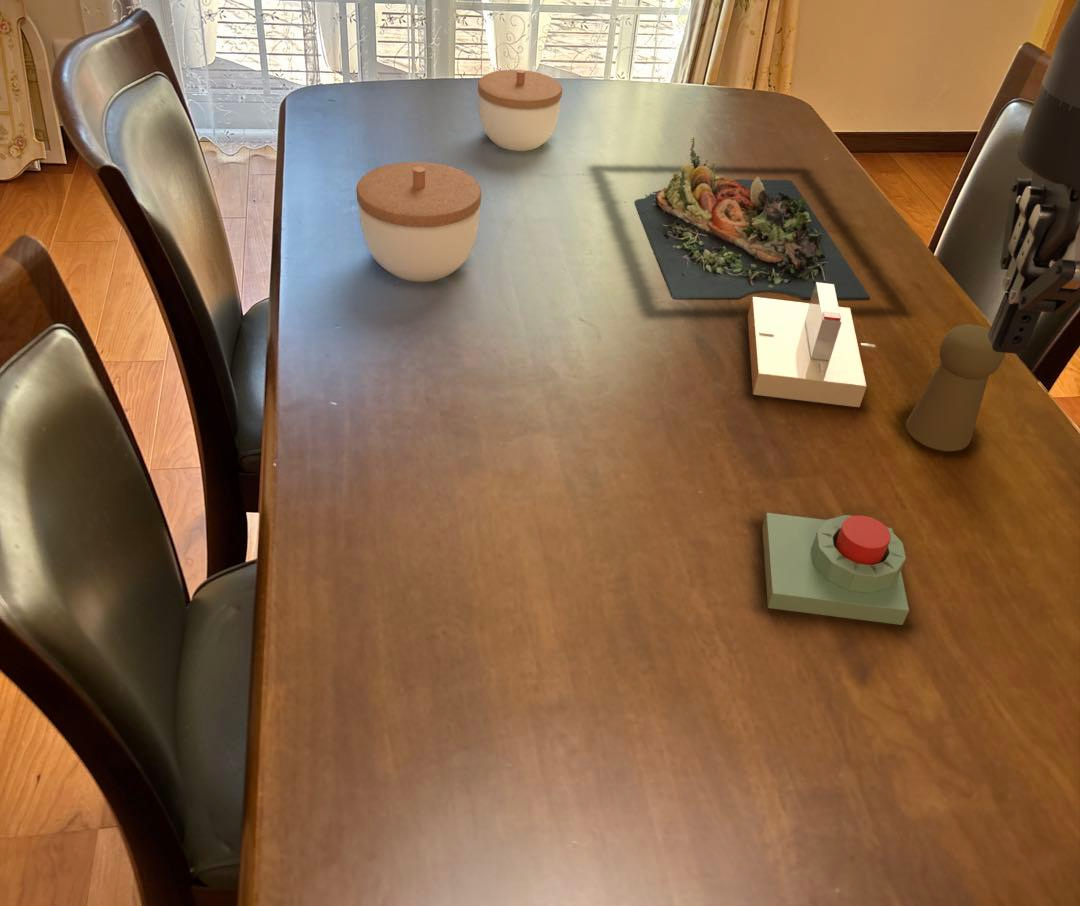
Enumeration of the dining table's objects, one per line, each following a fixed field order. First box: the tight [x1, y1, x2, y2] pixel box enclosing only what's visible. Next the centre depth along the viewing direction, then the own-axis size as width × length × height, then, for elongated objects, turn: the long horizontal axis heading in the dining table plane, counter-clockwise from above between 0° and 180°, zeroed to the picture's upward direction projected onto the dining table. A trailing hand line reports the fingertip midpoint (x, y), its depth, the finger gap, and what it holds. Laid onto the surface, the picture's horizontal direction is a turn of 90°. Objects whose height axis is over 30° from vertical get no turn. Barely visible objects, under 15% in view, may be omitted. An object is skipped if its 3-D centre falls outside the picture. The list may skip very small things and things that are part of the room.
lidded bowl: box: [356, 161, 482, 283], centre depth 106 cm, size 13×13×11 cm
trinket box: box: [477, 69, 563, 152], centre depth 132 cm, size 11×11×9 cm
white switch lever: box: [805, 282, 842, 360], centre depth 98 cm, size 7×2×4 cm, turn 174°
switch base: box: [747, 296, 876, 408], centre depth 100 cm, size 12×14×3 cm
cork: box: [905, 323, 1006, 452], centre depth 90 cm, size 6×6×11 cm
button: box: [836, 515, 891, 565], centre depth 76 cm, size 4×4×2 cm
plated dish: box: [634, 137, 871, 301], centre depth 117 cm, size 35×28×7 cm
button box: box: [761, 512, 910, 626], centre depth 78 cm, size 10×9×4 cm
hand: (1004, 346), depth 70 cm, fingers closed
